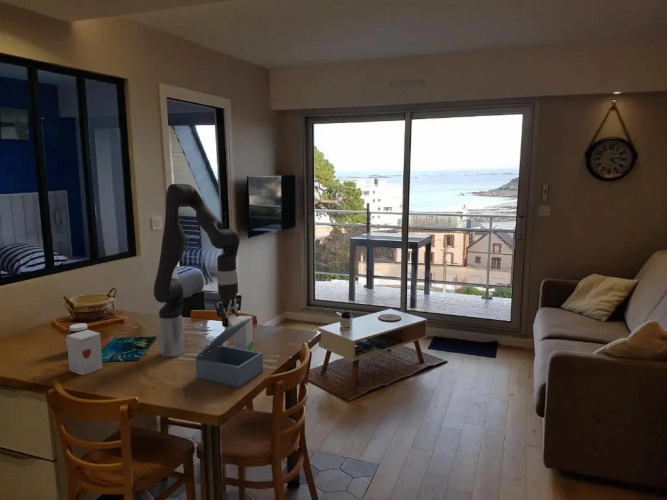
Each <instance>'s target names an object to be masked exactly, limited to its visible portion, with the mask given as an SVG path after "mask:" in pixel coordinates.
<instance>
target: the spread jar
mask: <svg viewBox="0 0 667 500" xmlns="http://www.w3.org/2000/svg"><path fill="white" fill-rule="evenodd" d="M85 330H90V329H89V328H88V324H87V323H84V322H83V323H80V322H79V323H74V324H71V325H70V326H69V331H68V332H67V334H66V337H65V342H66V343H65V345H66V348H67V350H68V345H67V335H70V334H74V333H77V332H81V331H85Z"/></svg>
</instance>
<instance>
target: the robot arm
mask: <svg viewBox="0 0 667 500" xmlns="http://www.w3.org/2000/svg"><path fill="white" fill-rule="evenodd" d="M187 207H189V208H191V209H193V210H194V212H195V220H196V222H197V224H198V226H199V227H200V228H201V229H203V231H204V232H205V233H206V235H207V237H208V239H209V241H210V244H211V245H212V246H213V247H214V248H216V249H219V250H223V249H224V250H225V251H224V253H221V254H219V255H218V256H217V259H216V262H217V263H216V264H217V265H216V266H217V267H216V268H217V274H216V275H217V276H216V279H217V281H216V282H217V293H218V295H219V297H220V298H219V301H218V302H215V303H214V306H215V312H216V315H217V317H218V318H221V325H222V327H223V328H228V316H229V312H231V314H230V315H232V314H234V313H235V315H236V316H237V317H238V313H239V311H241V309H242V298H243V297H242V296H243V295H240V294H239V281H238V270H237V256H238V252H239V251H238V250H239V246H240V235H239V233H238V231H237V230H236V229H234V228H225V229H224V225H223V222H222V220H221V219H220V218H219V217H217V215H215V214H214V212H213V211H212V210H210V208H209V207H208V206H207V204H206V203H205V201H204V199H203V198H202V196H201V195H200V193H199V192H198V190H197V189H196V188H195V187H194V186H193V185H191V184H189V183H187V184H186V183H171V184H170V185H169V186H168V187H167V189H166V194H165V215H164V226H163V235H162V240H161V247H160V256H159V263H158V267H157V271H156V272H157V273H156V276H155V280H154V284H153V296H154V299H155V300H156V301H157V302H158V303H161V304H163V303H164V305H163V306H162V307H161V308H160V309H159V311H158V317H159V318H158V319H159V332H158V350H159V354H160V355H161V356H162V357H165V358H174V357H178V356H181V355H182V354H183V353H184V337H183V333H184V332H183V320H182V319H183V318H182V311H183V309H184V289H183V284H182V283H181V281H180V279H178V278H174V277H173V274H174V271H175V270H176V269H177V266H178V265H179V263H180V261H181V260H182V257H183V256H184V253H185V248H186V247H185V246H186V241H187V240H186V234H185V231H184V229H183V227H182V225H181V223H180V220H179V210H180V208H187Z"/></svg>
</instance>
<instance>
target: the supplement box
mask: <svg viewBox="0 0 667 500" xmlns="http://www.w3.org/2000/svg"><path fill="white" fill-rule="evenodd" d="M66 335H67V334H66ZM67 345H68V349H67V355H68V368H69V369H68V370H69V371H70V372H72V373H75V374H78V375H80V376H84V375H88V374H89V373H93V372H95V371H98V370H101V369H103V357H102V343H101V333H100V332H98V331H94V330H90V329H89V330H85V331H81V332H77V333H74V334H70V335H67ZM67 345H66V346H67Z"/></svg>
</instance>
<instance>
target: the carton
mask: <svg viewBox="0 0 667 500" xmlns="http://www.w3.org/2000/svg"><path fill="white" fill-rule="evenodd" d="M263 355H264V353H263V352H259V351H253V350H252V351H249V350H244V349H238V348H234V346H233V347H232V346H229V345H228V346H226V345H223V344H222V345H221V346H219V347H217V348H215V349H213V350H211V351H209V352H207V353H206V354H204V355H202V356H200V357H198V358H196V359H195V376H196V378H195V379H197V380H201V381H205V382H209V383H210V382H211V383H214V384H219V385H224V386H226V387H233V388H237V389H241V388H242V387H243V386H245V385H246V384H247V383H249V382H251V381H252V380H253V379H255V378H257V377H258V376H259V375H261V374H262V373H264V363H263V362H264V357H263Z"/></svg>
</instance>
